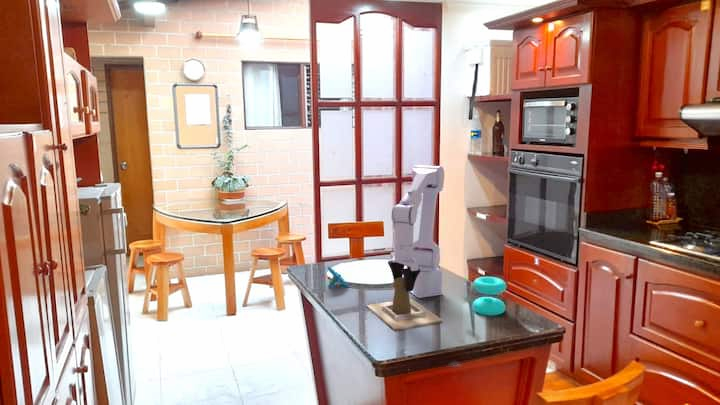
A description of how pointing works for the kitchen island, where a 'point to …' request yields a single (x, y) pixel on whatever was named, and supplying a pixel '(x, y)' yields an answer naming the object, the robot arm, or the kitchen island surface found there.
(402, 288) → the cork
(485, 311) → the donuts
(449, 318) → the kitchen island surface
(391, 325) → the socket board
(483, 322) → the kitchen island surface
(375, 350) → the kitchen island surface
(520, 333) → the kitchen island surface
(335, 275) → the teal angled piece
